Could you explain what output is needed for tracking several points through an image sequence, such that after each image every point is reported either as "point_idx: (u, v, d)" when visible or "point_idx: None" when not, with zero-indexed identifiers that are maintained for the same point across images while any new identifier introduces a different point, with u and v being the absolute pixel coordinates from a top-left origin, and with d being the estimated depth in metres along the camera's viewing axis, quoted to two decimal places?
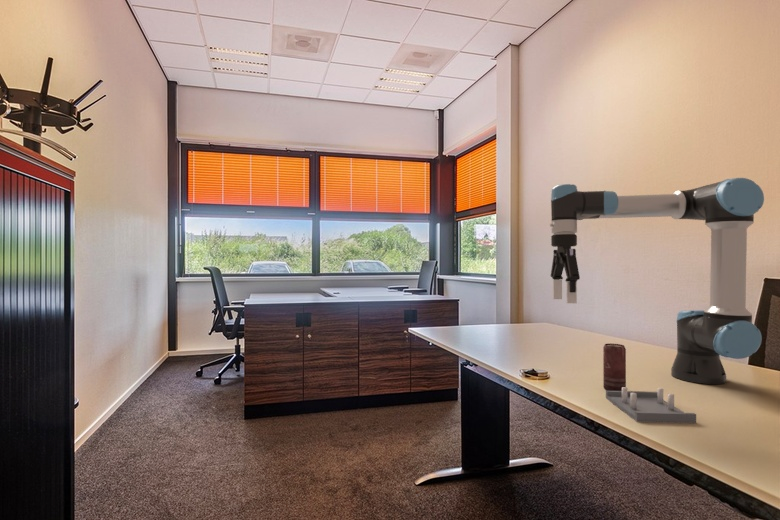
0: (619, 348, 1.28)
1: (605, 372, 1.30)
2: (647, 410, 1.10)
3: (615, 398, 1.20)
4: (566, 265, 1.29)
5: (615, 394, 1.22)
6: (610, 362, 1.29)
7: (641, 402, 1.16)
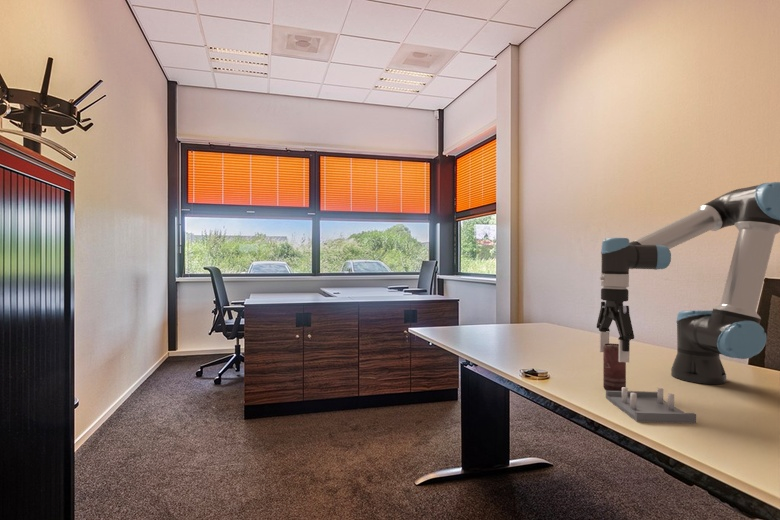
0: None
1: (605, 372, 1.30)
2: (647, 410, 1.10)
3: (615, 398, 1.20)
4: (618, 322, 1.26)
5: (615, 394, 1.22)
6: (610, 362, 1.29)
7: (641, 402, 1.16)
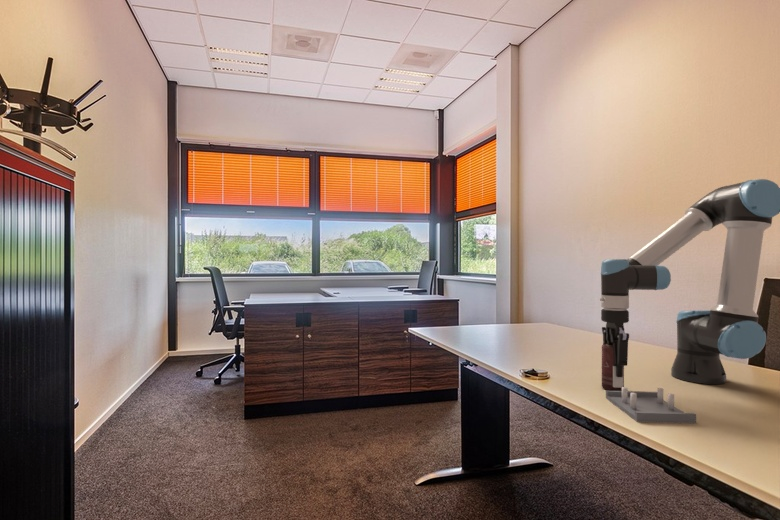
0: None
1: (604, 371, 1.31)
2: (647, 410, 1.10)
3: (615, 398, 1.20)
4: (615, 347, 1.28)
5: (615, 394, 1.22)
6: (609, 361, 1.29)
7: (641, 402, 1.16)
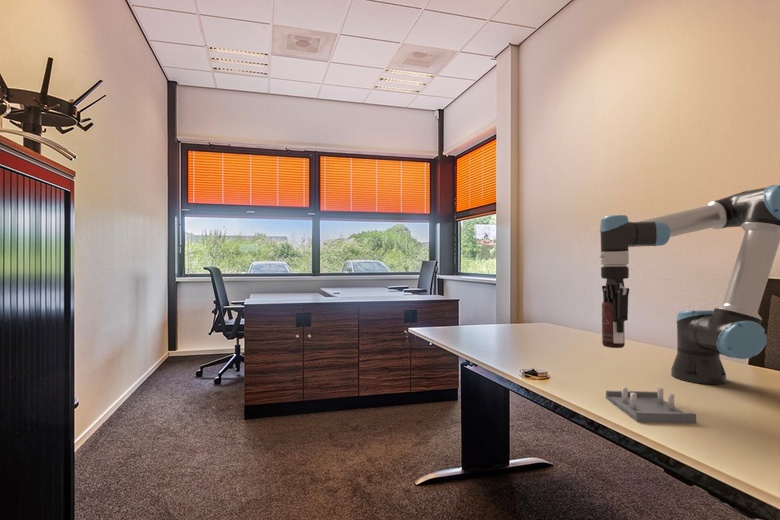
0: None
1: (604, 328, 1.31)
2: (647, 410, 1.10)
3: (615, 398, 1.20)
4: (616, 303, 1.28)
5: (615, 394, 1.22)
6: (609, 317, 1.30)
7: (641, 402, 1.16)
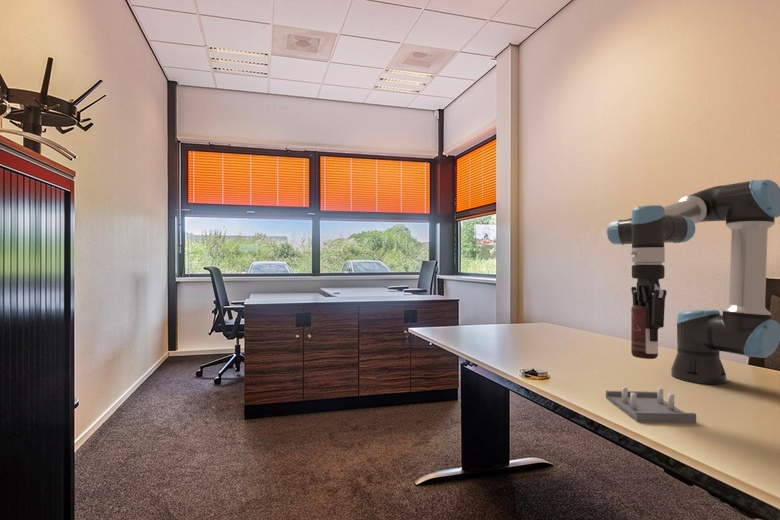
0: None
1: (634, 336, 1.14)
2: (647, 410, 1.10)
3: (615, 398, 1.20)
4: (649, 307, 1.10)
5: (615, 394, 1.22)
6: (640, 323, 1.12)
7: (641, 402, 1.16)
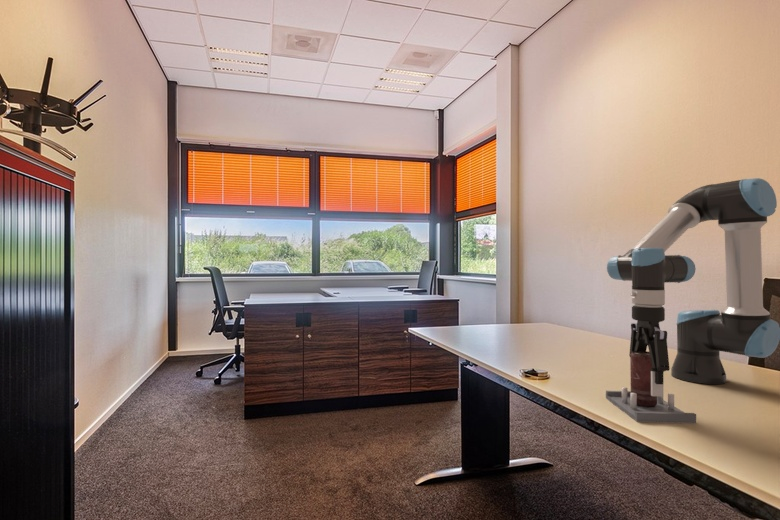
0: None
1: (633, 384, 1.14)
2: (647, 410, 1.10)
3: (615, 398, 1.20)
4: (652, 348, 1.09)
5: (615, 394, 1.22)
6: (639, 372, 1.13)
7: None
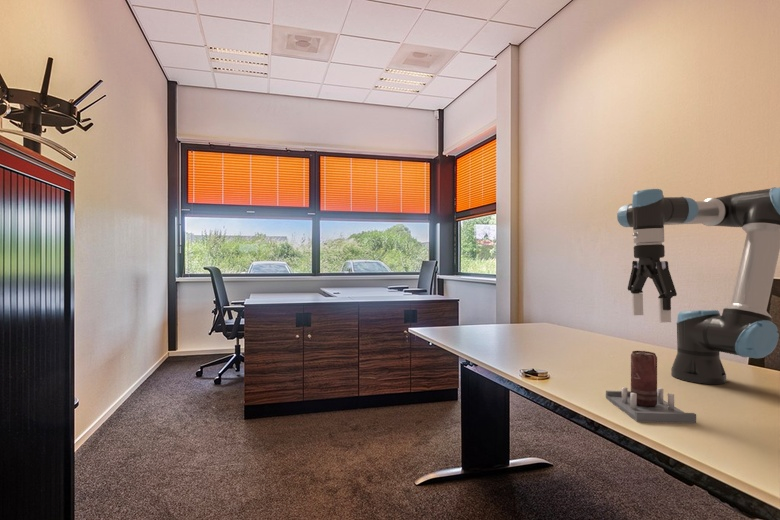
0: (650, 356, 1.12)
1: (634, 383, 1.14)
2: (647, 410, 1.10)
3: (615, 398, 1.20)
4: (656, 279, 1.16)
5: (615, 394, 1.22)
6: (640, 372, 1.13)
7: None
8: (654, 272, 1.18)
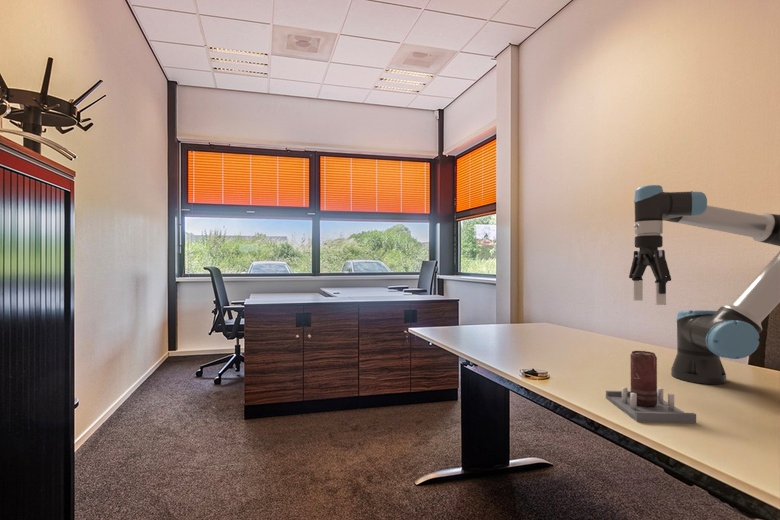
0: (650, 356, 1.12)
1: (633, 384, 1.14)
2: (647, 410, 1.10)
3: (615, 398, 1.20)
4: (654, 266, 1.29)
5: (615, 394, 1.22)
6: (640, 372, 1.13)
7: None
8: (652, 260, 1.31)
